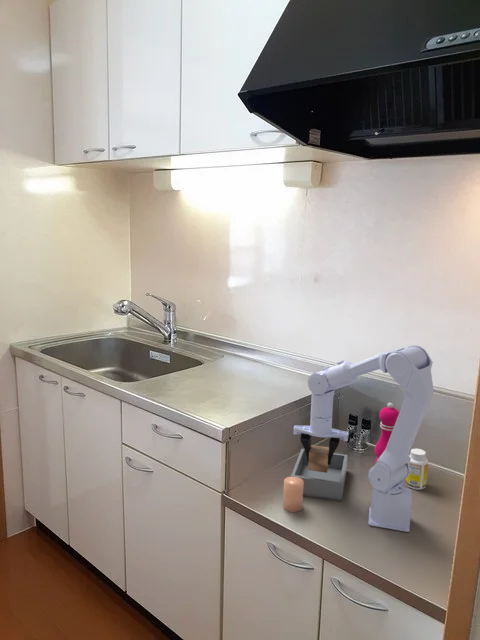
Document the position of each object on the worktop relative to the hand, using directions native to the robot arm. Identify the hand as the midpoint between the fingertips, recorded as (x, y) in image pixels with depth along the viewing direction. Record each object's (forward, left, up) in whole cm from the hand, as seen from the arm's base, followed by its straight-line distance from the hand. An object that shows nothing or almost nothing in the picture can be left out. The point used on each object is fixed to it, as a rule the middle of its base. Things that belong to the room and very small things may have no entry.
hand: (319, 461), depth 137 cm
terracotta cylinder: (+5, +11, -8) cm, 14 cm away
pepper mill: (-18, -20, -8) cm, 28 cm away
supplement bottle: (-26, -10, -8) cm, 29 cm away
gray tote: (0, -4, -8) cm, 9 cm away
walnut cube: (0, 0, -2) cm, 2 cm away
